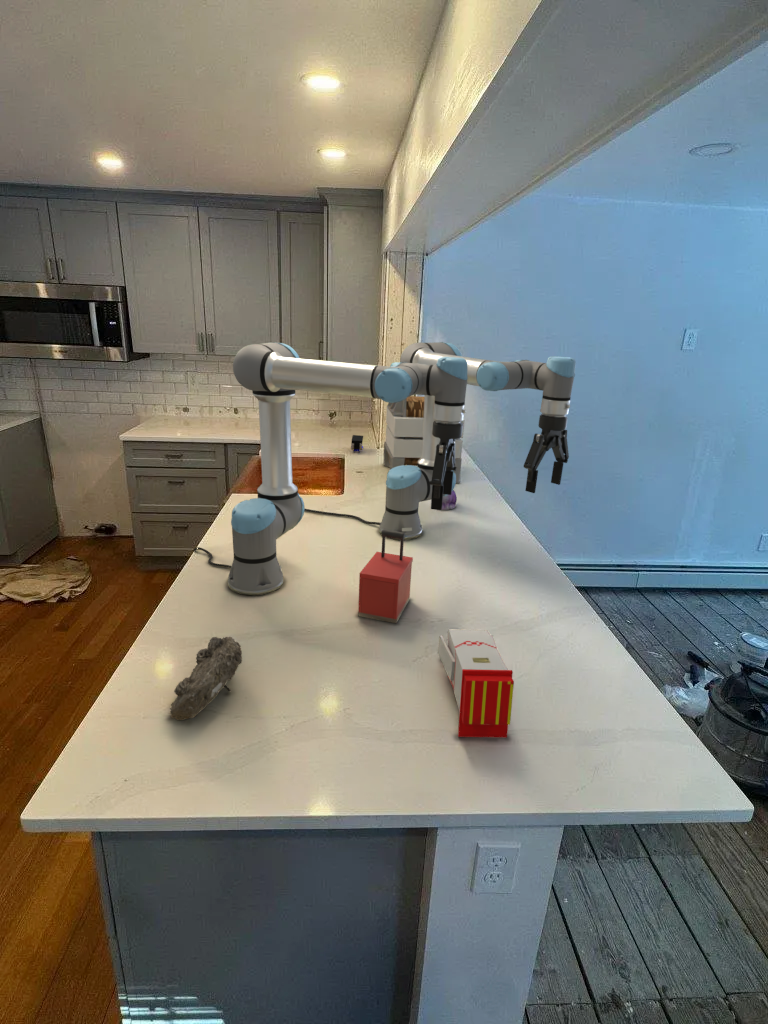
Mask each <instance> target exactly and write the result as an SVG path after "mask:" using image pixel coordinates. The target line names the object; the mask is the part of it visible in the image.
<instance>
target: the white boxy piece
mask: <svg viewBox="0 0 768 1024" xmlns="http://www.w3.org/2000/svg"><path fill="white" fill-rule="evenodd" d="M387 403H388V402H387ZM385 414H386V415H385V423H386V428H385V438H384V442H383V466H384V467H388V468H389V470H391V469H392V468H394V467H397V466H402V465H405V466H406V465H413V466H417V463H418V460H419V459H420V458H421V457H422V445H423V420H424V396H419V395H417V396H415V395H412V396H409V397H407V398H406V399H404V400H403V401H400V402H396V403H388V404H387V405H386V413H385ZM461 423H462V424H463V429H462V437H461V438H459V439H455V467H457V468H456V471H454V473H455V475H456V484H459V483H461V472H462V461H463V460H462V453H463V442H464V441H463V440H462V439H463V438H464V431H465V430H464V429H465V419H464V418H463V420H462V421H461Z"/></svg>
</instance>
